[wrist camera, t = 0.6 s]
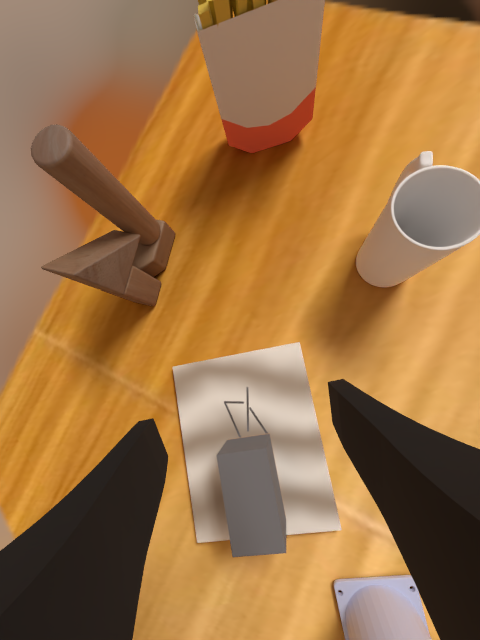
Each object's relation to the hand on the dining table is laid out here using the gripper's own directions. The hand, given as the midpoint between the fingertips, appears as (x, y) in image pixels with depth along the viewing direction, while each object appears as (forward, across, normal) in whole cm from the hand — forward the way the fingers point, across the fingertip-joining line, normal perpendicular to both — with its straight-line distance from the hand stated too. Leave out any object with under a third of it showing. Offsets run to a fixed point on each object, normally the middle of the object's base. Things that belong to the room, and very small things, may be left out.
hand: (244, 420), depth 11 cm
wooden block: (+29, +10, -4) cm, 31 cm away
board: (+16, +2, +16) cm, 23 cm away
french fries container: (+34, -9, -18) cm, 40 cm away
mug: (+23, -19, -1) cm, 30 cm away
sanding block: (+13, +2, +19) cm, 23 cm away
